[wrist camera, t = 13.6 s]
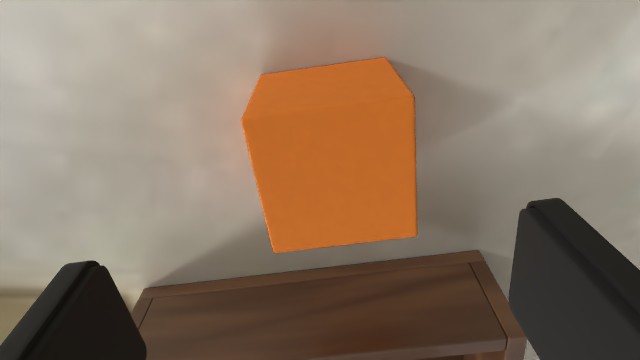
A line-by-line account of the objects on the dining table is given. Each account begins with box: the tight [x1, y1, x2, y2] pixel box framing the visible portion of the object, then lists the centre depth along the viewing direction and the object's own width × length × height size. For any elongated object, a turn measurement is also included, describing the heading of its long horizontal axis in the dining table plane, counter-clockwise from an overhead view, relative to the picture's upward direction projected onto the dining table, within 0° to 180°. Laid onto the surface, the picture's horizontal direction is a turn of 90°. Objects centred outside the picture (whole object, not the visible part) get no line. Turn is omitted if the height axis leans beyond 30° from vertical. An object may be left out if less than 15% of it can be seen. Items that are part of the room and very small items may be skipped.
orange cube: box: [241, 57, 417, 253], centre depth 15 cm, size 5×5×5 cm
